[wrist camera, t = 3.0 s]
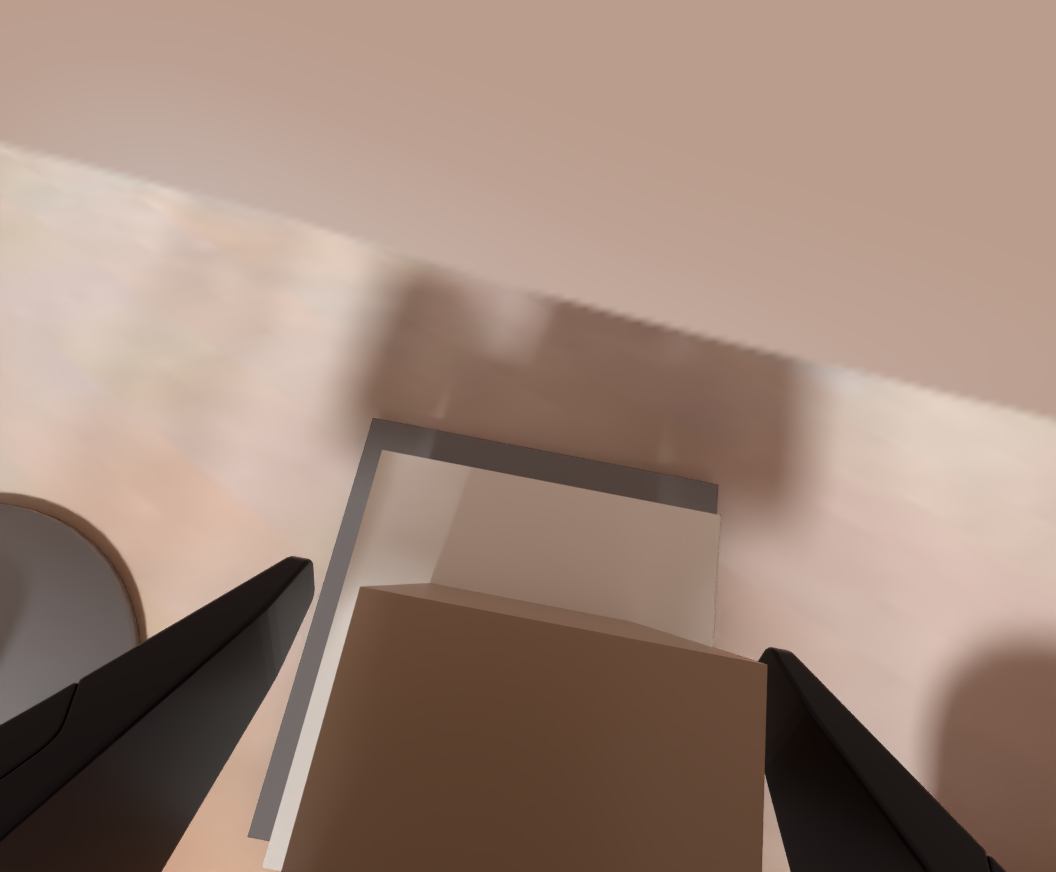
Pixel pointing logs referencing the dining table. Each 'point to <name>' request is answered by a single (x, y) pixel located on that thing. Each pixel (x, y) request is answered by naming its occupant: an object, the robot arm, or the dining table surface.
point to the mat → (460, 453)
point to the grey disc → (55, 609)
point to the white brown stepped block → (525, 690)
